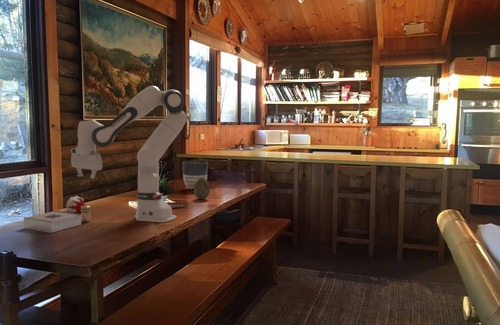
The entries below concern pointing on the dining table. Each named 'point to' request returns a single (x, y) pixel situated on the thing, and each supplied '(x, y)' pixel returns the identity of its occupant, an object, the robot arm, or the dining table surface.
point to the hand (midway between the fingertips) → (86, 177)
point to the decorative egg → (201, 188)
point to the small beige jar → (85, 214)
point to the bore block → (52, 221)
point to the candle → (75, 204)
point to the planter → (194, 172)
